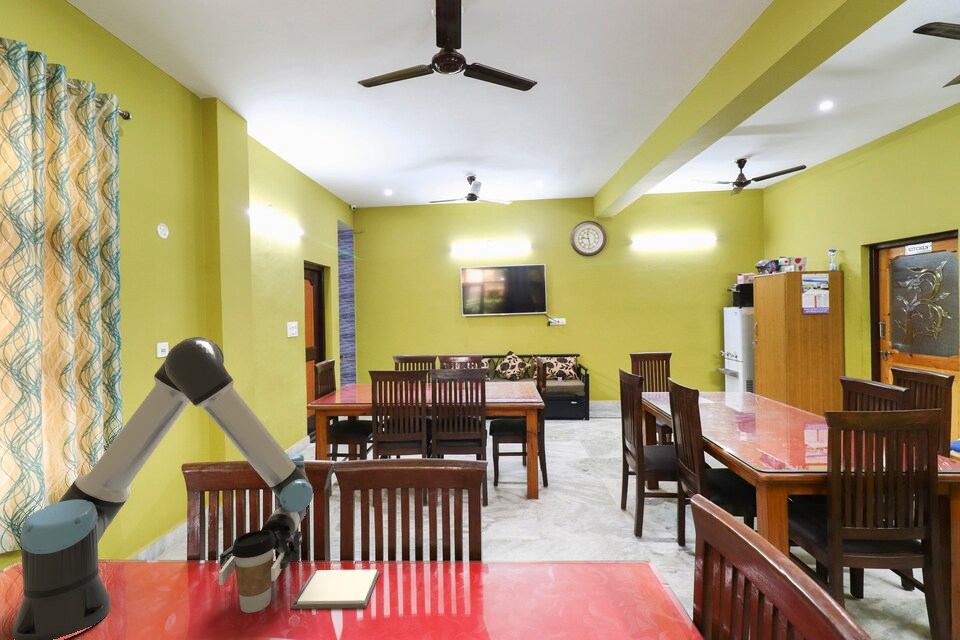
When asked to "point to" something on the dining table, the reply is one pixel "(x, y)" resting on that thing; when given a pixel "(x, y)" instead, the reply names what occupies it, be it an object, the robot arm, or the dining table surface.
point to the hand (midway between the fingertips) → (247, 576)
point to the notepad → (336, 589)
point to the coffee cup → (254, 569)
